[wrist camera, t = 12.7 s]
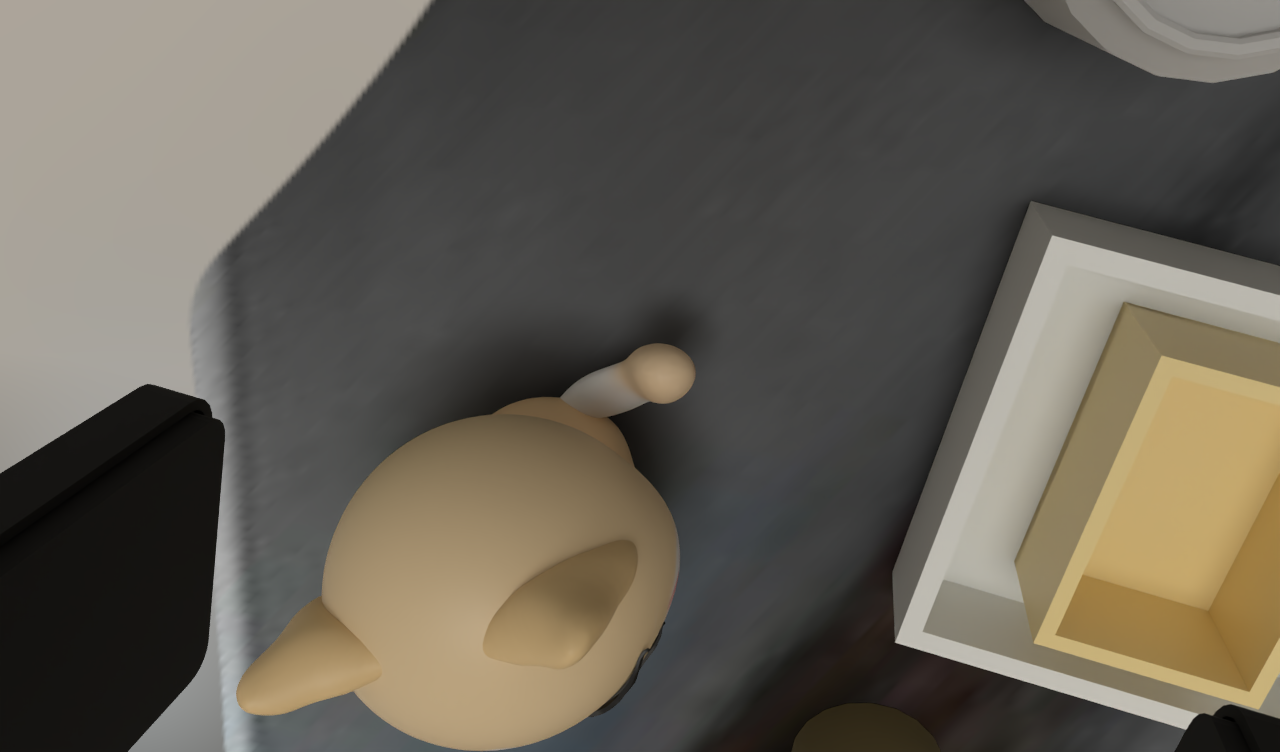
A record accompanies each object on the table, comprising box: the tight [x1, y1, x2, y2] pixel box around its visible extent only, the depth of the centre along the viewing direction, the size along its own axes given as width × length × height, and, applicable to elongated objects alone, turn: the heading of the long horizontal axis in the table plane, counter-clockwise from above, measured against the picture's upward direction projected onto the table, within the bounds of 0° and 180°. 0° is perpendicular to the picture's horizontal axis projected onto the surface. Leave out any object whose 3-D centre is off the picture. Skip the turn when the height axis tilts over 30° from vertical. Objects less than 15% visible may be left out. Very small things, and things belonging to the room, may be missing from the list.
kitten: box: [236, 343, 696, 751], centre depth 36 cm, size 15×10×15 cm
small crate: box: [1014, 302, 1280, 710], centre depth 35 cm, size 10×7×5 cm
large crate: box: [892, 201, 1280, 729], centre depth 36 cm, size 14×14×4 cm
